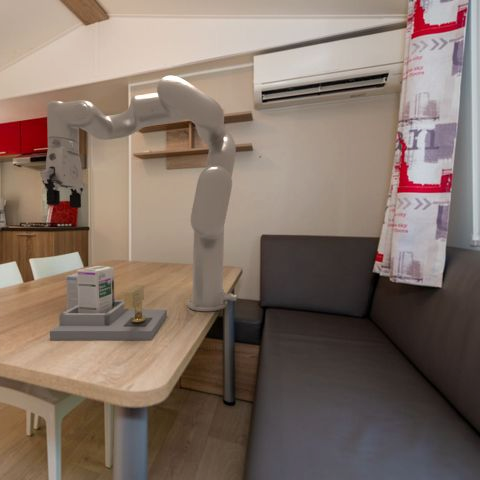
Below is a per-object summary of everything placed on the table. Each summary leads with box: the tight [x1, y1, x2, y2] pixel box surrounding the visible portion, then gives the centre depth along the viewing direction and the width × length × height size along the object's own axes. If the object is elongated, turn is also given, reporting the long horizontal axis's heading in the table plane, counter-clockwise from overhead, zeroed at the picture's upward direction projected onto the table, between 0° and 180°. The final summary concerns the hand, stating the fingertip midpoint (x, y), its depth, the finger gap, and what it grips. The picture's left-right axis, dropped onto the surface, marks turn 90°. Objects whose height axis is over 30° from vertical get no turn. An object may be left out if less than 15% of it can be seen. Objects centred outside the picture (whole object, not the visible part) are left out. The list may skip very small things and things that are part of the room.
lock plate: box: [49, 299, 168, 341], centre depth 60 cm, size 22×14×4 cm, turn 93°
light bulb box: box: [65, 272, 78, 311], centre depth 74 cm, size 11×7×11 cm, turn 4°
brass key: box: [123, 284, 146, 323], centre depth 56 cm, size 3×8×8 cm, turn 3°
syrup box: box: [76, 265, 115, 313], centre depth 61 cm, size 6×6×14 cm
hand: (65, 206), depth 73 cm, fingers open, 9 cm apart
